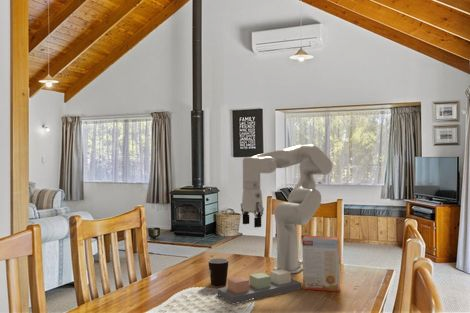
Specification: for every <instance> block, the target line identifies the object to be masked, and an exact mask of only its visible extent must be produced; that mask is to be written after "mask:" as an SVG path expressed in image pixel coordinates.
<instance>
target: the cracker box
mask: <svg viewBox="0 0 470 313" xmlns="http://www.w3.org/2000/svg"><path fill="white" fill-rule="evenodd" d="M301 244H302V248H301V249H302V260H303V264H302V284H303V285H302V288H303V290H314V291H325V292H326V291H327V292H334V293H338V292H339V291H340V245H339V244H340V243H339V236H326V235H325V236H323V235H322V236H321V235H304V236H303V237H302V243H301Z"/></svg>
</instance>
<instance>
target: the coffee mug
mask: <svg viewBox="0 0 470 313" xmlns="http://www.w3.org/2000/svg"><path fill="white" fill-rule="evenodd" d="M207 262H208V263H207V264H208V269H209V270H208V271H209V277H210V284H211V286H212V287H217V288H222V287H226V286H227V284H228V270H229V259H227V258H224V257H223V258H221V257H217V258H215V257H214V258H210V259H209V260H208V261H207Z"/></svg>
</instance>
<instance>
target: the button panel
mask: <svg viewBox="0 0 470 313" xmlns="http://www.w3.org/2000/svg"><path fill="white" fill-rule="evenodd" d="M298 290H302V282H300V281H298V280H295V279H293V278H291V282H290V283H286V284H281V285H278V284H275V283H273V282H271V287H266V288H261V289H256V288H254V287H252V286H250V281H249V291H247V292H242V293H237V294H235V293H233V292H231V291H229V290H228V286H222V287H217V290H216V292H217V294H218V295H220V296H221V298H222V297H223V298H224V299H223V298H222V299H223V300H225V299H226V300H225V301H227V300H228V301H227V302H229V303H230V302H231V303H230V304H232V303H235V304H238V303H237V302H240V303H243V302H242V301H244V302H247V301H246V300H249V299H252V298H254V300H257V299H263V298H267V297H271V296H275V295H279V294H285V293H290V292H293V291H298ZM218 295H217V296H218ZM220 296H219V297H220ZM249 301H250V300H249Z"/></svg>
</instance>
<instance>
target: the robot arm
mask: <svg viewBox="0 0 470 313" xmlns="http://www.w3.org/2000/svg"><path fill="white" fill-rule="evenodd" d="M332 163H333V162H332V161H331V159H330V158H329V157H328V156H327V154H326V153H325V152H324V151H322V149H320V147H318V146H316V145H315V144H297V145H294V146H290V147H286V148H283V149H278V150H273V151H270V152H263V153H259V154H256V155H252V156H247V157H246V156H245V157H243V159H242V198H241V199H242V200H241V201H242V202H241V203H240V210H241V216H242V225H250V213H252V214H253V216H254V218H253V220H254V221H253V223H254V224H253V227H254V228H261V227H262V218H263V214H264V207H263V206H264V205H263V204H264V203H263V195H262V189H261V174H267V175H268V174H272V173H273V172H275V171H276V170H277V169H282V168H283V169H284V168H289V167H292V166H294V165H298V164H299V176H300V177H299V181H298V182H297V184H296V185H295V186H294V188H293V189H292V190H291V192H289V195H288V198H287V200H288V202H283V201H282V202H279V203H278V204H277V205H276V206H275V207H274V211H273V214H274V220H275V227H276V265H275V266H273V271H274V270H279V269H283V270H286V271H289V272H291V275H293V274H298V273H301V271H302V267H301V265H303V259H302V260H301V259H299V258H298V252H299V251H298V231H297V227H296V226H297V225H298V226H304V225H306V224H308V223H309V222H310V220H311V219H312V218H313V216H315V214H316V212H317V211H318V209H319V208H320V206H321V203H322V194H321V192H320V190H318V189H316V186H317V184H316V181H315V178H314V176H313V175H317V176H326V175H328V174H330V173H331V172H332V169H333V164H332Z"/></svg>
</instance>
